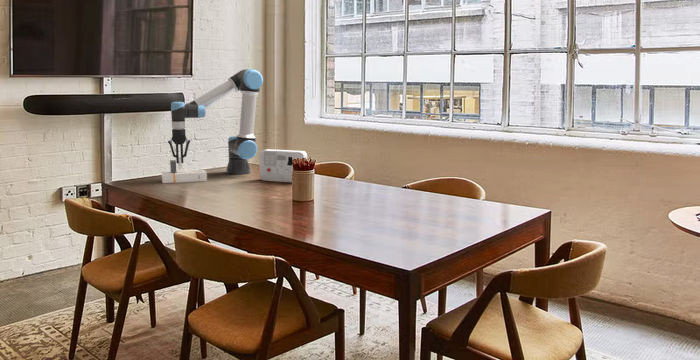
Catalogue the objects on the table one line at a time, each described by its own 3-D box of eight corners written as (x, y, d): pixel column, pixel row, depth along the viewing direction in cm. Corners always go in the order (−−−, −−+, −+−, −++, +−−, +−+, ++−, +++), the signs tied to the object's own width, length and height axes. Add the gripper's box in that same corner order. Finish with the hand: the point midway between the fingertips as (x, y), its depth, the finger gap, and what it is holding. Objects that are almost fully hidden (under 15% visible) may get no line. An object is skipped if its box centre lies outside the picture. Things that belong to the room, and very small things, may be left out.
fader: (176, 178, 392) (175, 160, 390) (176, 179, 387) (175, 161, 385) (170, 178, 391) (170, 160, 389) (171, 180, 386) (170, 161, 384)
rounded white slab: (257, 181, 390) (257, 150, 387) (263, 179, 397) (263, 149, 394) (302, 183, 380) (302, 152, 377) (307, 181, 387) (307, 151, 384)
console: (204, 178, 400) (204, 169, 399) (207, 180, 390) (206, 172, 389) (161, 180, 392) (161, 171, 391) (162, 183, 382) (162, 174, 381)
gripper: (189, 127, 391) (190, 167, 395) (166, 128, 387) (168, 168, 391) (190, 128, 384) (192, 169, 388) (167, 129, 380) (169, 170, 384)
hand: (180, 168), depth 389 cm, fingers closed
